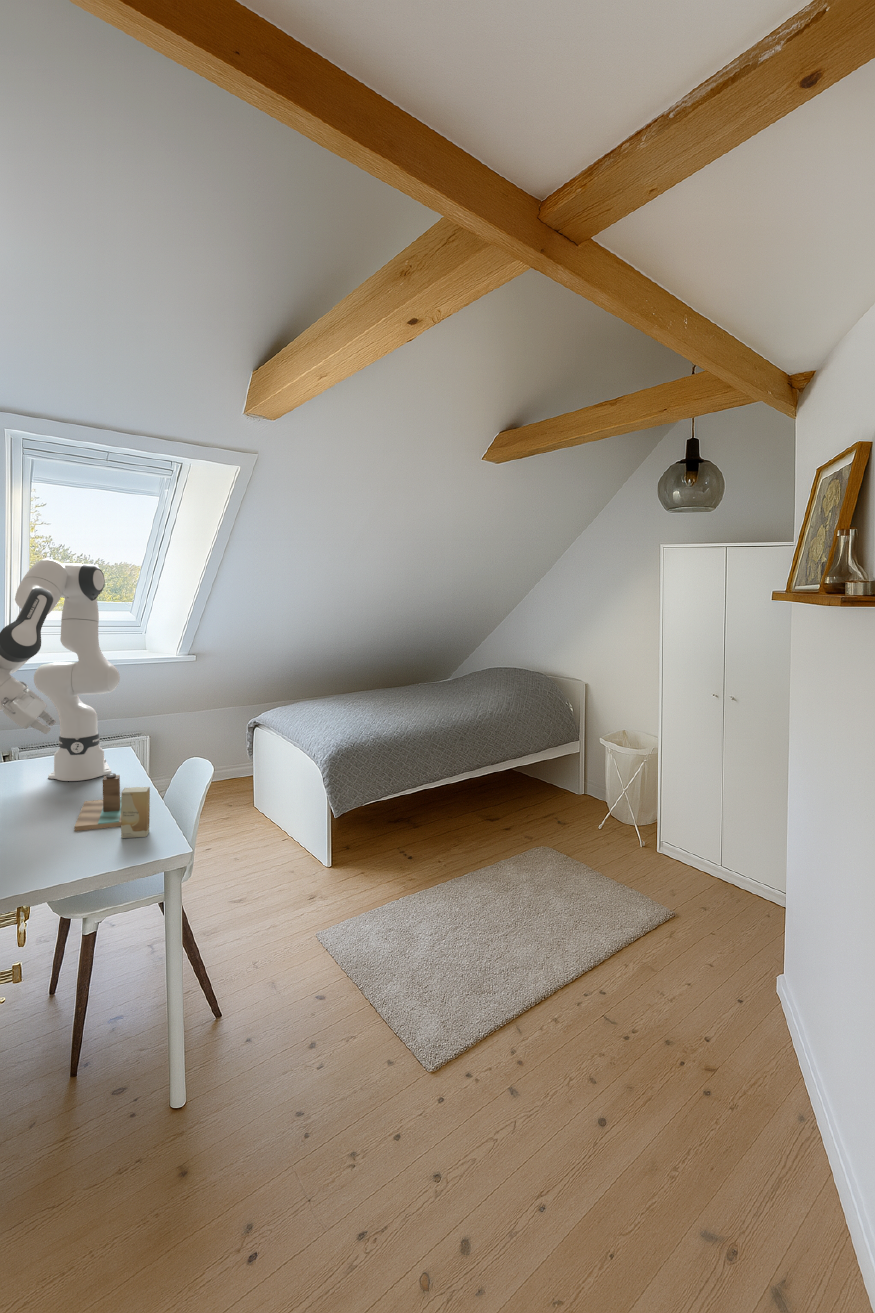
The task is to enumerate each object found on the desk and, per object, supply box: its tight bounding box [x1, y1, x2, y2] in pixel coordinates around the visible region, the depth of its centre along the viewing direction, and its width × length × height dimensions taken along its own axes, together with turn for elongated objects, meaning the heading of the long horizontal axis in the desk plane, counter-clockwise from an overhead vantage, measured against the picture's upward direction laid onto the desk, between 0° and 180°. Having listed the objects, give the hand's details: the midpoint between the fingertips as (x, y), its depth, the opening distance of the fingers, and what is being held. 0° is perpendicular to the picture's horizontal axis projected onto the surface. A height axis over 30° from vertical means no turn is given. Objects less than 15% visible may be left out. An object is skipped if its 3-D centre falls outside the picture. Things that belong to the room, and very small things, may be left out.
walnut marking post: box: [102, 772, 121, 812], centre depth 178 cm, size 4×4×10 cm
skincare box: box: [120, 786, 151, 839], centre depth 164 cm, size 6×4×12 cm
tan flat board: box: [73, 796, 121, 832], centre depth 178 cm, size 22×15×2 cm
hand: (51, 727), depth 178 cm, fingers open, 8 cm apart
